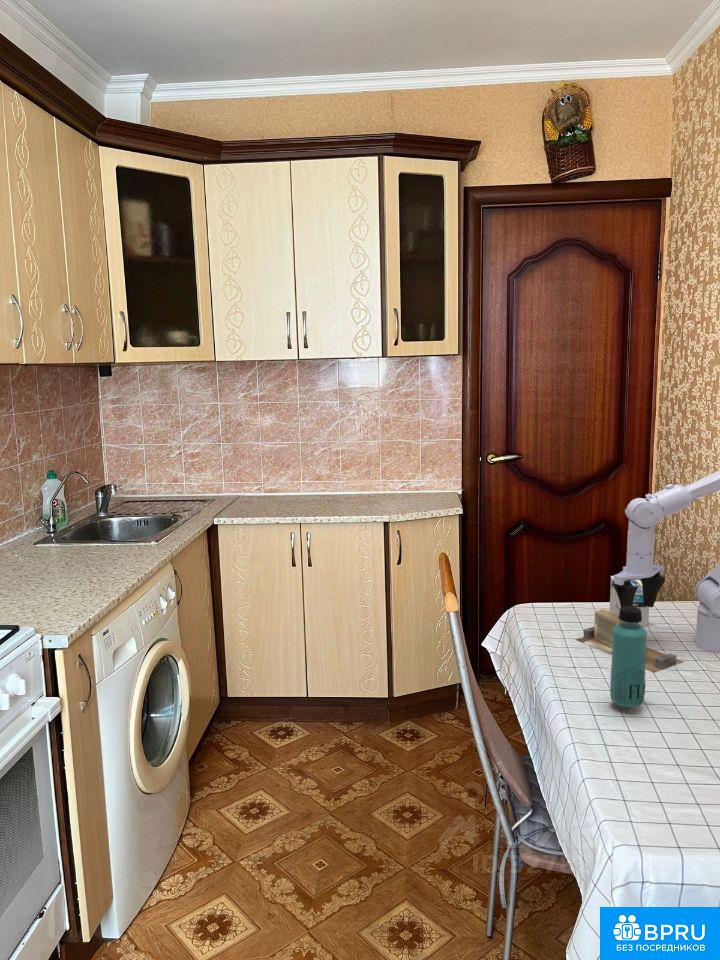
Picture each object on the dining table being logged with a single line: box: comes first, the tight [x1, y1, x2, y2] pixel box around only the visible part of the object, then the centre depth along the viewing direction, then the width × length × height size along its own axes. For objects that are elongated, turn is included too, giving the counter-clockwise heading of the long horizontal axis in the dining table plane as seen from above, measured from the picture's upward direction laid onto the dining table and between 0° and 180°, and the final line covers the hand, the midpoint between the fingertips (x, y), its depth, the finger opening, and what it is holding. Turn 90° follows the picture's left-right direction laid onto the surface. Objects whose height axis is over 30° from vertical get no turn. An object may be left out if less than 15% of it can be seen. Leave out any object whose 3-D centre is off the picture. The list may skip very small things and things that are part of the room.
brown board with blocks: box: [575, 625, 685, 674], centre depth 173 cm, size 10×22×3 cm, turn 32°
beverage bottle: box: [609, 606, 648, 708], centre depth 146 cm, size 6×7×20 cm
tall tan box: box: [593, 608, 624, 647], centre depth 177 cm, size 3×7×7 cm, turn 31°
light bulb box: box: [609, 575, 650, 628], centre depth 191 cm, size 11×7×11 cm, turn 179°
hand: (637, 609), depth 175 cm, fingers open, 7 cm apart
